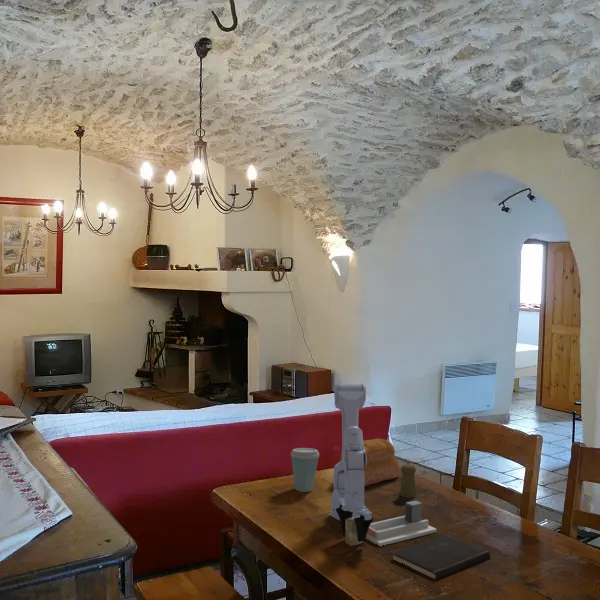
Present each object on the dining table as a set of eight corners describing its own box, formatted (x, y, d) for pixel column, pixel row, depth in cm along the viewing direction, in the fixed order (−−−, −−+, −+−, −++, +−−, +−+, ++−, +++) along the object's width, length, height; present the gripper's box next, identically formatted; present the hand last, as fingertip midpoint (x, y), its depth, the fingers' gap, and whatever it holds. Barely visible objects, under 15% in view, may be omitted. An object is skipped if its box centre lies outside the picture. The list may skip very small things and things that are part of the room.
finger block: (345, 542, 195) (345, 519, 195) (357, 539, 197) (357, 516, 197) (351, 546, 192) (351, 522, 192) (363, 543, 195) (363, 519, 195)
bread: (331, 482, 252) (331, 443, 252) (378, 469, 269) (378, 433, 269) (356, 491, 242) (356, 450, 242) (403, 477, 259) (403, 439, 259)
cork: (416, 498, 234) (416, 468, 234) (399, 497, 235) (399, 466, 235) (416, 493, 240) (417, 463, 240) (400, 492, 241) (400, 462, 241)
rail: (355, 532, 202) (355, 506, 202) (410, 519, 214) (411, 495, 214) (379, 546, 192) (380, 519, 192) (436, 532, 204) (436, 506, 203)
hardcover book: (391, 560, 184) (391, 552, 184) (445, 541, 198) (445, 533, 198) (435, 582, 171) (436, 573, 171) (490, 559, 185) (490, 551, 185)
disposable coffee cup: (288, 485, 248) (289, 445, 248) (317, 484, 249) (317, 445, 249) (291, 494, 238) (292, 453, 237) (321, 493, 239) (321, 452, 238)
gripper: (329, 486, 198) (328, 530, 199) (357, 500, 186) (357, 547, 186) (348, 482, 202) (348, 526, 202) (377, 496, 190) (377, 542, 190)
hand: (353, 536), depth 195 cm, fingers open, 7 cm apart
